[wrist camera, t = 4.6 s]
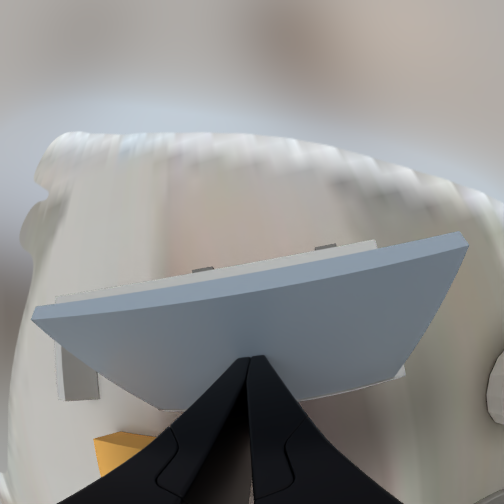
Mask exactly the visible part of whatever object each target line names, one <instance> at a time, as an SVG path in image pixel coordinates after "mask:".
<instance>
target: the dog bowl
mask: <svg viewBox="0 0 504 504" xmlns="http://www.w3.org/2000/svg"><path fill="white" fill-rule="evenodd" d="M474 504H504V489H502V490H499V491H497V492H495V493H493V494H491V495H489V496H487V497H485V498H483V499H481V500H480V501H478V502H476V503H474Z"/></svg>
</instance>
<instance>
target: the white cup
mask: <svg viewBox="0 0 504 504" xmlns="http://www.w3.org/2000/svg"><path fill="white" fill-rule="evenodd" d="M486 396H487V406H488V412H489V414H490V415H491V417H492V418H493V420H494V421H495V422H496V423H500V424H504V351H503V353H502V354H501V355H500V356H499V357H498V358H497V361H496V363H495V365H494V368H493V370H492V372H491V374H490V378H489V383H488V389H487V394H486Z"/></svg>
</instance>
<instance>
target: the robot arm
mask: <svg viewBox="0 0 504 504" xmlns="http://www.w3.org/2000/svg"><path fill="white" fill-rule="evenodd" d="M170 427H171V428H170ZM170 427H167V428H166V429H165V430H164V431H163V432H162V433H161V434H160V435H159V436H158V437H156V438H155V439H154V440H153V441H152V442H151V443H149V444H148V445H147V446H146V447H145V448H143V449H142V450H141V451H139V452H138V453H137V454H135V455H134V456H133V457H131V458H130V459H128V460H127V461H125V462H124V463H122V464H121V465H119V466H118V467H116V468H115V469H113V470H112V471H110V472H109V473H107V474H106V475H104V476H103V477H101V478H100V479H98V480H96V481H95V482H93V483H92V484H90V485H88V486H87V487H85V488H83V489H82V490H80V491H78V492H77V493H75V494H73V495H71V496H70V497H68V498H66V499H64V500H63V501H61V502H59V503H57V504H248V503H249V496H250V488H251V481H252V482H253V495H254V504H403V503H402V502H400V501H399V500H398V499H396V498H395V497H394V496H393V495H391V494H390V493H389V492H387V491H386V490H385V489H383V488H382V487H381V486H380V485H378V484H377V483H376V482H375V481H373V480H372V479H371V478H370V477H369V476H367V475H366V474H365V473H364V472H363V471H361V470H360V469H359V468H358V467H357V466H355V465H354V464H353V463H352V462H351V461H350V460H348V459H347V458H346V457H345V456H344V455H343V454H342V453H341V452H339V451H338V450H337V449H336V448H335V447H334V446H333V445H332V444H331V443H330V442H329V441H328V440H327V439H326V438H325V436H324V435H323V434H322V433H321V432H320V431H319V429H318V428H317V427H316V426H315V424H314V423H313V422H312V420H311V419H310V418H309V417H308V415H307V414H306V413H305V411H304V410H303V409H302V407H301V406H300V405H299V403H298V402H297V400H296V399H295V398H294V396H293V395H292V393H291V392H290V391H289V389H288V388H287V386H286V385H285V384H284V382H283V381H282V379H281V378H280V377H279V375H278V374H277V372H276V371H275V369H274V368H273V367H272V365H271V364H270V362H269V361H268V359H267V358H266V356H265V355H257V356H252V357H251V358H250V357H242V358H238V359H236V360H235V361H234V362H233V363H232V364H231V366H230V367H229V368H228V369H227V370H226V371H225V372H224V373H223V374H222V375H221V376H220V377H219V378H218V379H217V380H216V381H215V382H214V383H213V384H212V385H211V386H210V387H209V388H208V389H207V390H206V391H205V392H204V393H203V394H202V395H201V396H200V397H199V398H198V399H197V400H196V401H195V402H194V403H193V404H192V405H191V406H190V407H189V408H188V409H187V410H186V411H185V412H184V413H183V414H182V415H181V416H180V417H179V418H178V419H177V420H176V421H174V422H173V423H172V424H171V425H170Z"/></svg>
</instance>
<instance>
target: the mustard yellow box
mask: <svg viewBox="0 0 504 504" xmlns="http://www.w3.org/2000/svg"><path fill="white" fill-rule="evenodd" d="M155 438H156V437H152V436H145V435H138V434H132V433H126V432H117V433H113V434H110V435H106V436H102V437H99V438H95V439H93V440H94V445H95V451H96V456H97V461H98V466H99V470H100V475H101V477H103V476H104V475H106V474H107V473H109V472H110V471H112V470H113V469H115V468H116V467H118V466H119V465H121V464H122V463H124V462H125V461H127V460H128V459H130V458H131V457H133V456H134V455H135V454H137V453H138V452H139V451H141V450H142V449H143V448H145V447H146V446H147V445H148V444H149V443H151V442H152V441H153V440H154V439H155Z"/></svg>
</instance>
